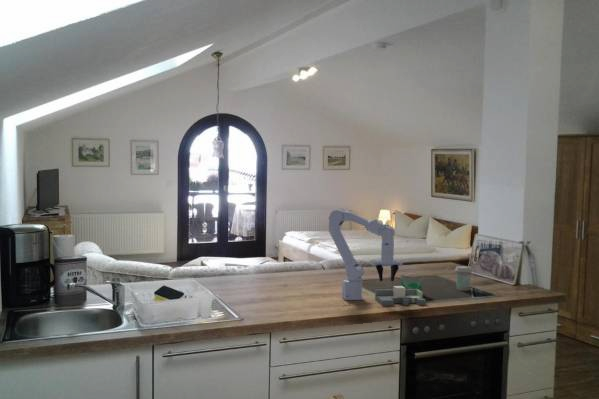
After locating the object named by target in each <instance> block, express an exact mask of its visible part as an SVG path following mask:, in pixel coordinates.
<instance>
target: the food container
mask: <svg viewBox="0 0 599 399" xmlns="http://www.w3.org/2000/svg"><path fill="white" fill-rule="evenodd" d="M399 279H400V283H401V285H400V286H403V287H405V289H418V290H420V291H421V292H422V289H423V288H422V287H423V281H424V280H425V277H424V275H423V274H421V275H408V276H407V275H402V274H400V276H399Z"/></svg>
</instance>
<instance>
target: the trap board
mask: <svg viewBox="0 0 599 399" xmlns="http://www.w3.org/2000/svg"><path fill="white" fill-rule="evenodd" d="M374 292H375V293H374V299H375V301H376V302H377V303H378V304H380V306H383V307H386V306H387V307H388V306H389V307H390V306H395V305H394V304H401V305H403V306H409V304H416V305H418V306H426V304H427V300H426V299H425V298H424V297H423V296H424V292H423V291H422V290H421V291H420V290H418V289H405V297H402V298H396V297H394V296H393V288H392V289H390V288H389V289H387V288H386V289H375V291H374Z"/></svg>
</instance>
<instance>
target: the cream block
mask: <svg viewBox="0 0 599 399" xmlns="http://www.w3.org/2000/svg"><path fill="white" fill-rule="evenodd" d="M392 289H393V296H394V297H396V298H402V297H405V287H403V286H402V285H393V286H392Z"/></svg>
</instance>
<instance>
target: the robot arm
mask: <svg viewBox="0 0 599 399" xmlns="http://www.w3.org/2000/svg"><path fill="white" fill-rule="evenodd" d="M345 222H353V223H355V224H358V225H361V226H363V227H365V228H366V230H367V231H368V232H370V233H372V234H374V235H377V236H379V237H381V251H380V252H381V253H380V254H381V255H380V260H376V261H375V260H374V261H371V266H372V267H375V269H376V271H377V273H378V278H379V281H380V282H383V274H384V267H385V266H386V267H387V266H388V267H389V266H390V281H391V282H394V280H395V277H396V274H397V272H398V270H399V269H400V268H399V267H400V266H401V267H403V264H404V263H403V261H402V260H394V256H395V255H394V254H395V252H394V251H395V250H394V249H395V242H394V241H395V237H394V236H395V235H396V230H395V228H394V227H392V226H391V225H387V224H386V223H384V224H383V223H381V222H379V221H378V219H369V220H368V219H366V218H365V217H362V216H360V215H358V214H356V213H354V212H352V211H351V210H347V209H344V208H338V209H334V210H332V211H331V212H330V214H329V216H328V232H329V235H330V236H331V238H332V240H333V242H334V245H335V246H336V249H337V250H338V253H339V255H340V256H341V258H342V260H343V262H344V269H345V270H346V277H347V279H344V280H343V281H342V284H341V286H342V288H341V291H342V292H341V297H342V298H343V299H344V301H364V300H365V298H364V297H363V278H362V276H363V275H364V269H363V266H362V265H361V264H359V262H358V261H357V260H356V259H355V257H354V255H353V254H352V251H351V249H350V248H349V246H348V243H347V240H346V239H345V237H344V235H343V233H342V231H341V228H342V226H343V224H344V223H345Z"/></svg>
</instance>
